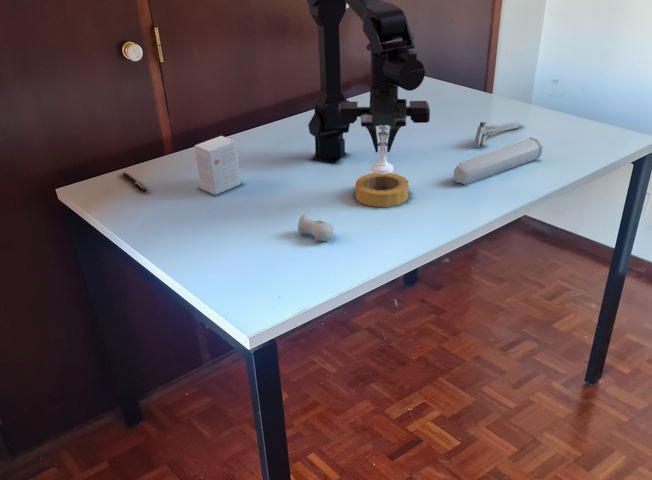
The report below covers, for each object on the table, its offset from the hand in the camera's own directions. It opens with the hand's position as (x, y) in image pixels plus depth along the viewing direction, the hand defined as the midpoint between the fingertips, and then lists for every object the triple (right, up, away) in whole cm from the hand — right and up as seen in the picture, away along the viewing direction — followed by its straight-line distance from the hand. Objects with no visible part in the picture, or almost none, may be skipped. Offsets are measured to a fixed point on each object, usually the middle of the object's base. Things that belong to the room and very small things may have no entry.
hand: (382, 151), depth 152 cm
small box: (-36, -5, +13) cm, 39 cm away
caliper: (+33, +13, +32) cm, 48 cm away
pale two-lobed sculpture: (-14, -20, -8) cm, 26 cm away
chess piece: (0, -3, +2) cm, 4 cm away
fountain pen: (-57, -3, +16) cm, 60 cm away
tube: (+28, -1, +15) cm, 32 cm away
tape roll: (0, -8, +6) cm, 10 cm away
